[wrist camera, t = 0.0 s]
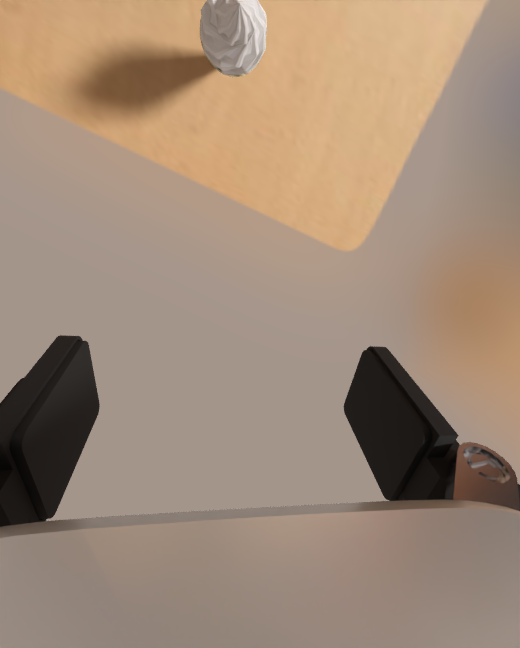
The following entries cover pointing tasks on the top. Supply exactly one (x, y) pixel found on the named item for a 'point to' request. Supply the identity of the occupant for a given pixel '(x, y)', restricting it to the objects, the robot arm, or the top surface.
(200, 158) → the top surface
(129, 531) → the robot arm
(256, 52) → the ice cream cone
